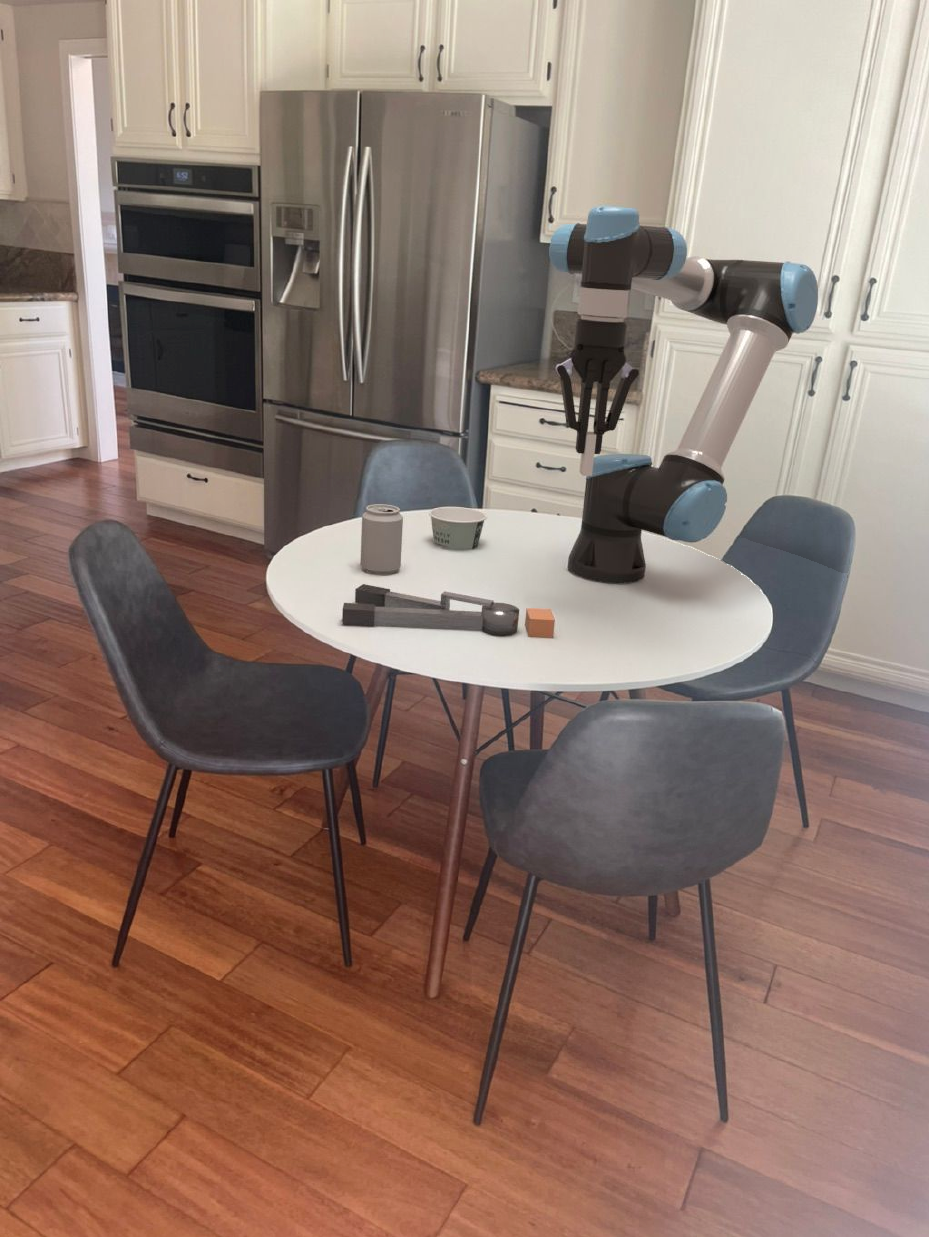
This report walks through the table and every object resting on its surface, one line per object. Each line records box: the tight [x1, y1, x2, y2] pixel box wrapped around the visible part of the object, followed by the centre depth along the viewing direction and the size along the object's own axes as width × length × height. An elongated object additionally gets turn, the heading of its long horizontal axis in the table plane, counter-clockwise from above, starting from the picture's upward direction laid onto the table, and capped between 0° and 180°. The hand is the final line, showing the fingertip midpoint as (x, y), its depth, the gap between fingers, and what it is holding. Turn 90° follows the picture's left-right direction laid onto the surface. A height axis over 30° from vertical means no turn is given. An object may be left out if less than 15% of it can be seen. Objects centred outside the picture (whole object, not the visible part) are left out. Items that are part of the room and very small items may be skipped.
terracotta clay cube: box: [524, 607, 556, 639], centre depth 152 cm, size 4×5×3 cm
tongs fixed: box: [341, 602, 520, 637], centre depth 150 cm, size 28×6×4 cm, turn 93°
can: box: [359, 503, 404, 576], centre depth 174 cm, size 8×8×12 cm
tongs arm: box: [354, 583, 495, 610], centre depth 155 cm, size 24×3×4 cm, turn 70°
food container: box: [428, 506, 488, 551], centre depth 195 cm, size 12×12×6 cm
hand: (585, 473), depth 150 cm, fingers closed
